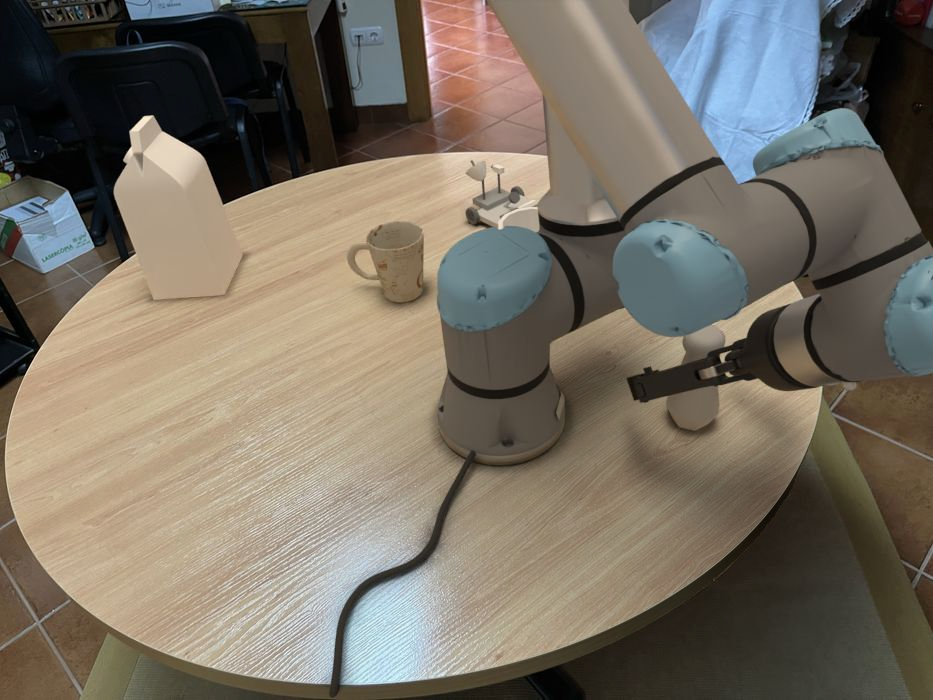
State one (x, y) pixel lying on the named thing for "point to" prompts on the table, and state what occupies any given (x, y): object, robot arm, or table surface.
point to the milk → (175, 216)
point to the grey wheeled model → (494, 198)
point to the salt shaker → (703, 402)
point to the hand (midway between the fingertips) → (685, 371)
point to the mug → (394, 259)
